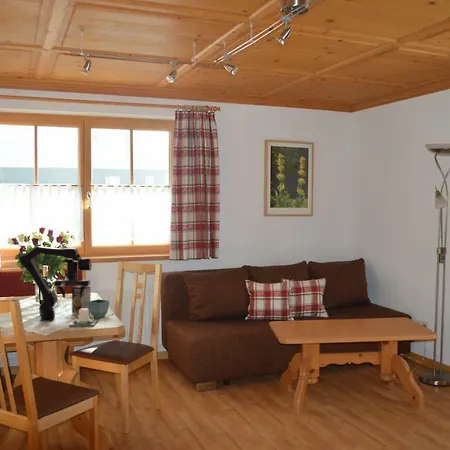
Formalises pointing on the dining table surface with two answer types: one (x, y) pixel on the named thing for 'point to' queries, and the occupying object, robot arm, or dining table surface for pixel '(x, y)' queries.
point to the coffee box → (80, 299)
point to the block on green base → (84, 316)
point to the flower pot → (98, 307)
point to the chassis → (84, 324)
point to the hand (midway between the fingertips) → (72, 298)
